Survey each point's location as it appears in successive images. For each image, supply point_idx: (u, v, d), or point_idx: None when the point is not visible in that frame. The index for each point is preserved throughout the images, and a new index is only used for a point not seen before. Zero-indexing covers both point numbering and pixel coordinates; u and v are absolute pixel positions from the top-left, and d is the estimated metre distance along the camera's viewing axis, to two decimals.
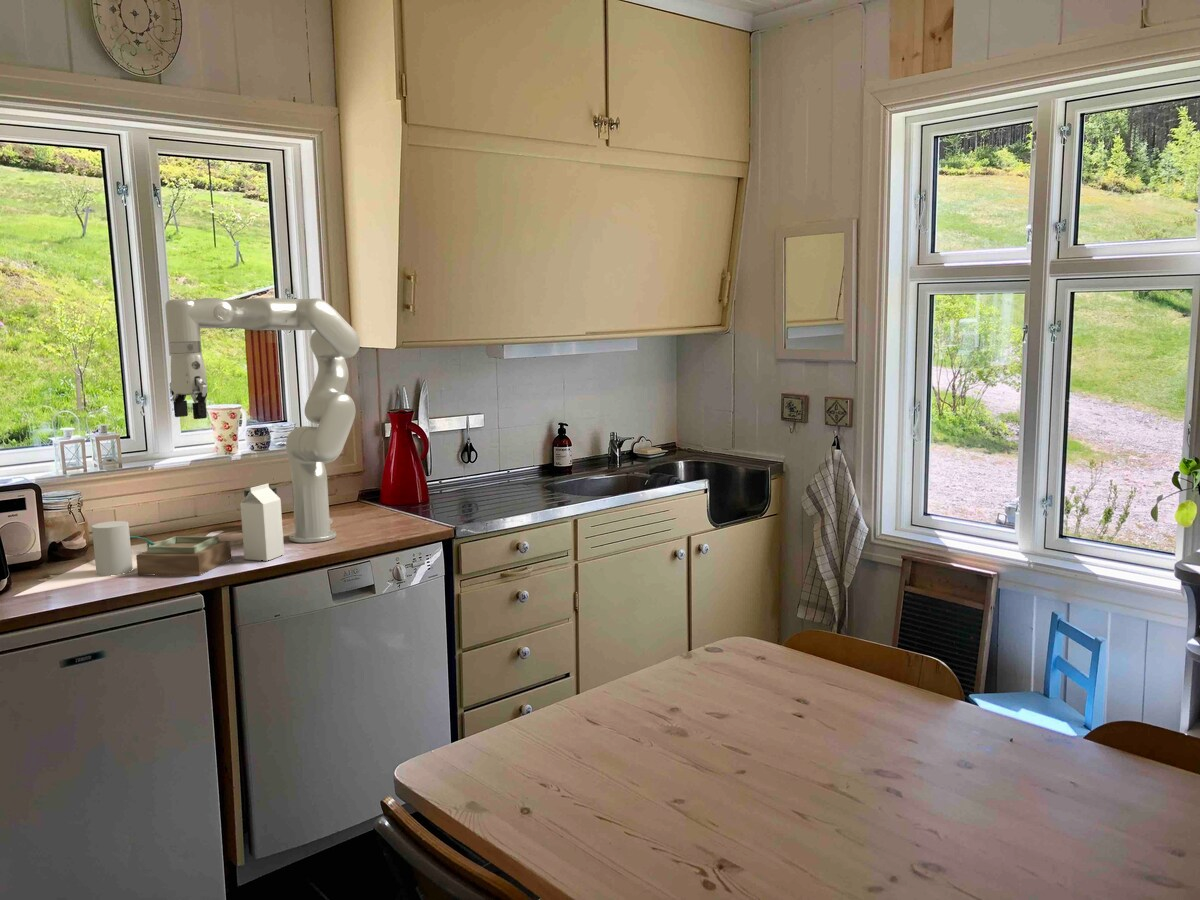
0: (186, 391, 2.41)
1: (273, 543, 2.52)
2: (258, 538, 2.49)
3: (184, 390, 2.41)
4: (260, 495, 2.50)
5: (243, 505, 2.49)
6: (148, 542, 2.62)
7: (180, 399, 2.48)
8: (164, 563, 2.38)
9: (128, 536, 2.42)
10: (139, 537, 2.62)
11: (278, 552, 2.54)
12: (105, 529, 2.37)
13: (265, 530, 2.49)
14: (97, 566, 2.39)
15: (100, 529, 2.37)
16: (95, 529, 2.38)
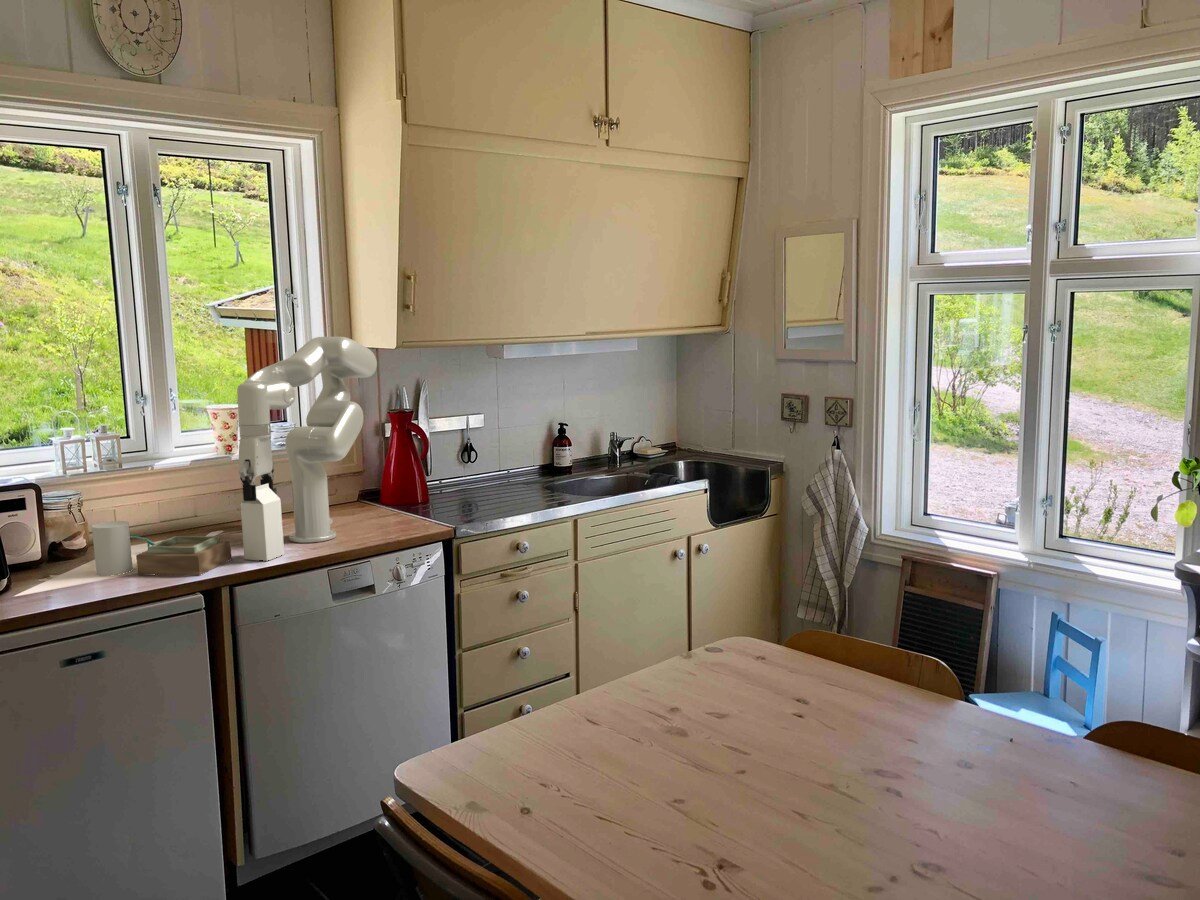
0: (270, 469, 2.53)
1: (273, 543, 2.52)
2: (258, 538, 2.49)
3: (269, 469, 2.52)
4: (260, 495, 2.50)
5: (243, 505, 2.49)
6: (148, 542, 2.62)
7: None
8: (164, 563, 2.38)
9: (128, 536, 2.42)
10: (139, 537, 2.62)
11: (278, 552, 2.54)
12: (105, 529, 2.37)
13: (265, 530, 2.49)
14: (97, 566, 2.39)
15: (100, 529, 2.37)
16: (95, 529, 2.38)
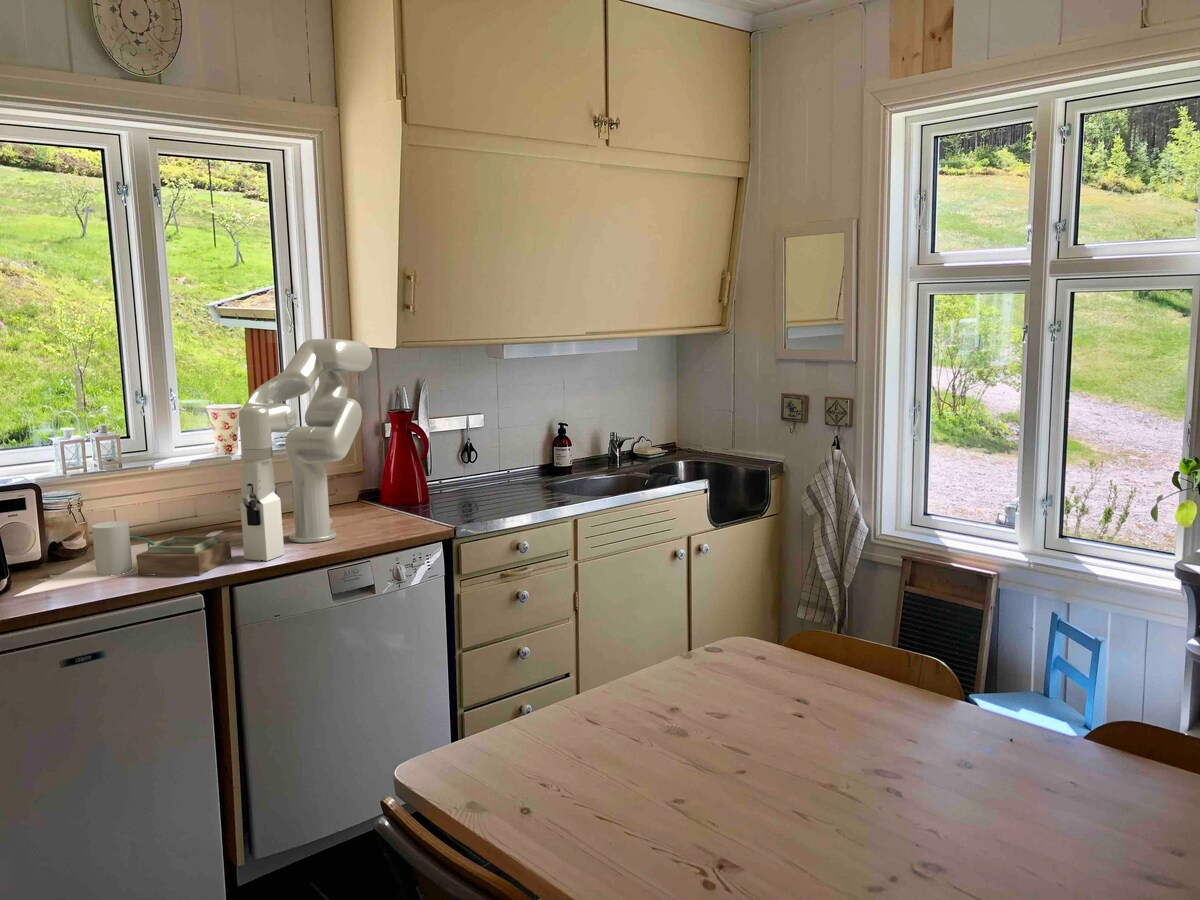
0: None
1: (273, 543, 2.52)
2: (258, 538, 2.49)
3: (271, 491, 2.54)
4: None
5: (243, 505, 2.49)
6: (149, 542, 2.62)
7: None
8: (164, 563, 2.38)
9: (128, 536, 2.42)
10: (139, 537, 2.62)
11: (278, 552, 2.54)
12: (105, 529, 2.37)
13: (265, 530, 2.49)
14: (97, 566, 2.39)
15: (100, 529, 2.37)
16: (95, 529, 2.38)
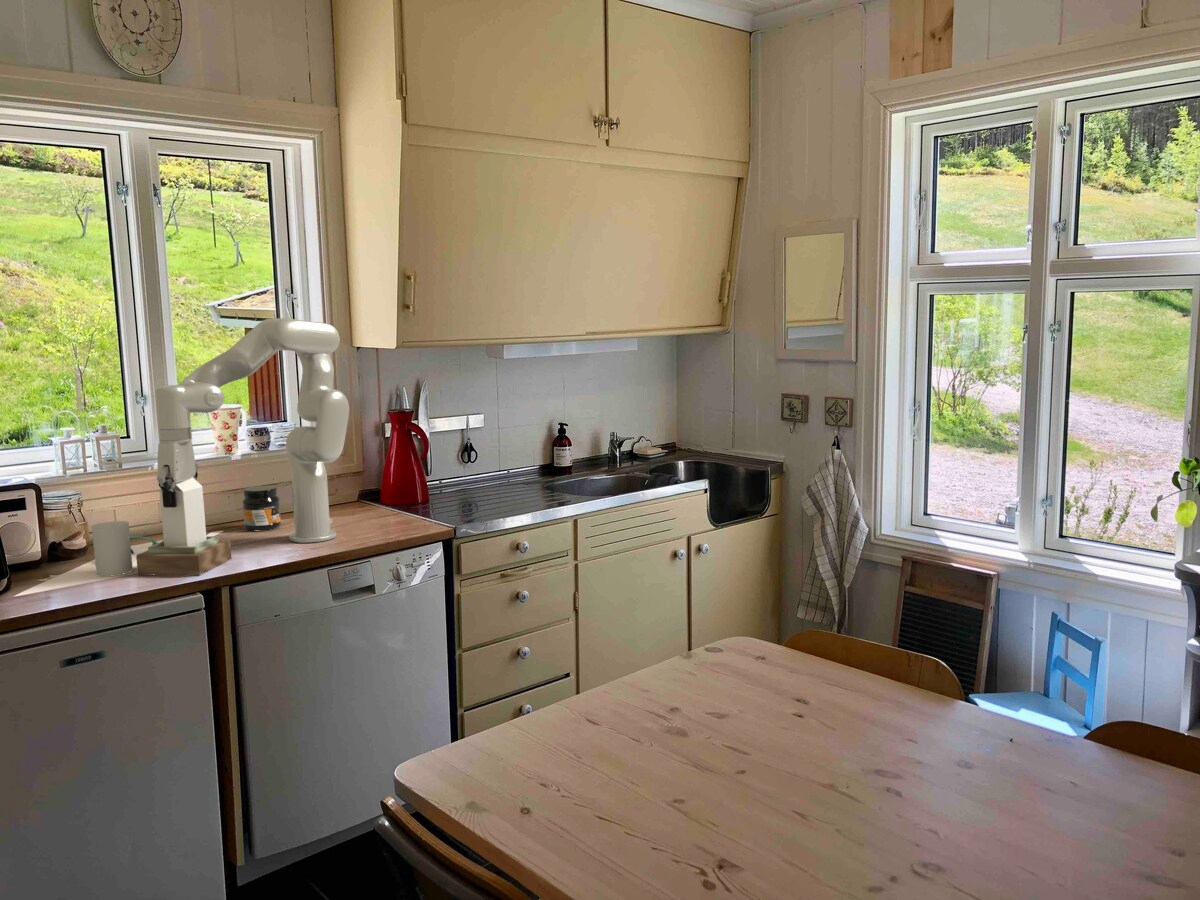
0: (192, 474, 2.45)
1: (195, 532, 2.43)
2: (179, 526, 2.41)
3: (191, 473, 2.45)
4: (180, 482, 2.41)
5: None
6: (153, 542, 2.62)
7: None
8: (164, 563, 2.38)
9: (128, 536, 2.42)
10: (144, 537, 2.62)
11: (200, 541, 2.45)
12: (105, 529, 2.37)
13: (186, 518, 2.40)
14: (97, 566, 2.39)
15: (100, 529, 2.37)
16: (95, 529, 2.38)
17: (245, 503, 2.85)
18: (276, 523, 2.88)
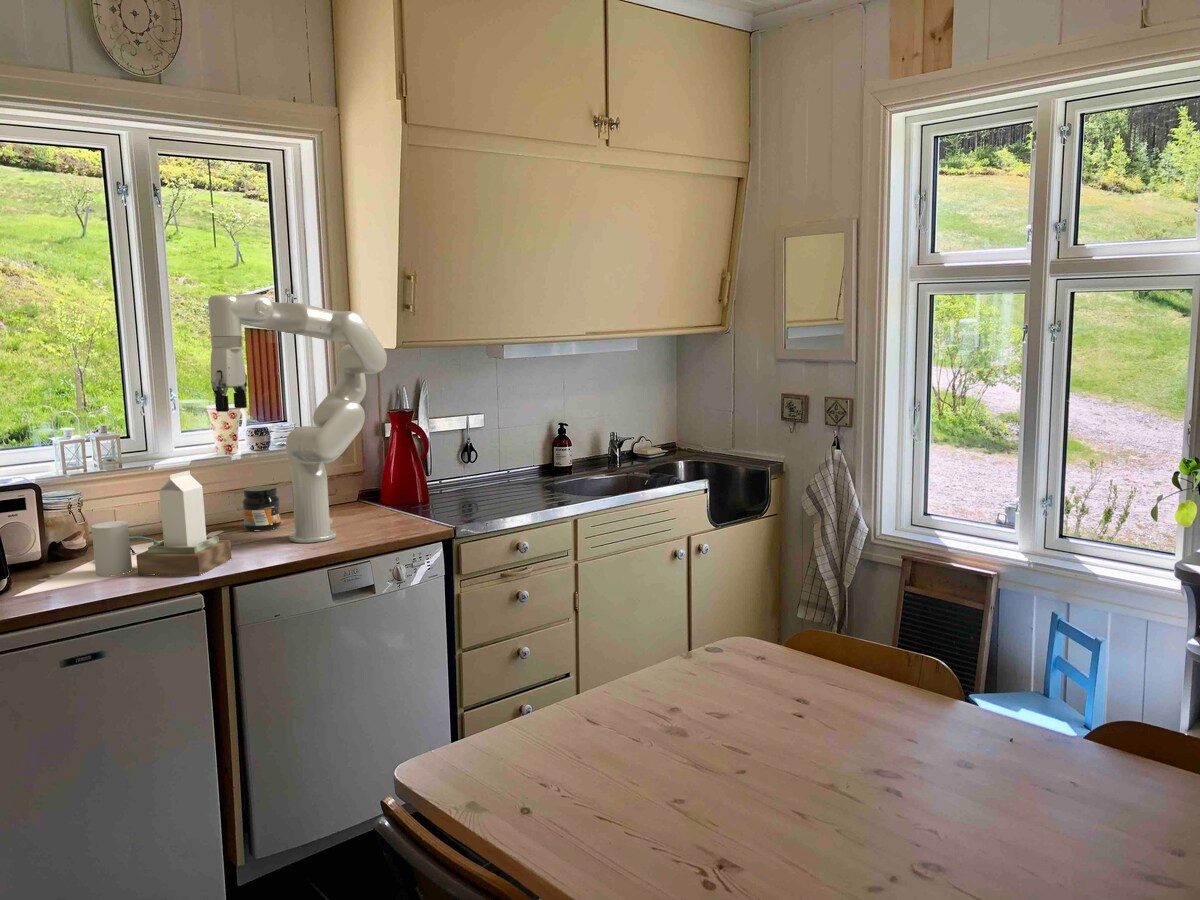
0: (243, 382, 2.55)
1: (195, 532, 2.43)
2: (179, 526, 2.41)
3: (241, 381, 2.55)
4: (180, 482, 2.41)
5: (162, 493, 2.41)
6: (154, 543, 2.61)
7: None
8: (164, 563, 2.38)
9: (128, 536, 2.42)
10: (145, 537, 2.62)
11: (200, 541, 2.45)
12: (104, 529, 2.37)
13: (186, 518, 2.40)
14: (96, 566, 2.39)
15: (99, 529, 2.37)
16: (94, 529, 2.37)
17: (245, 503, 2.85)
18: (276, 523, 2.88)
